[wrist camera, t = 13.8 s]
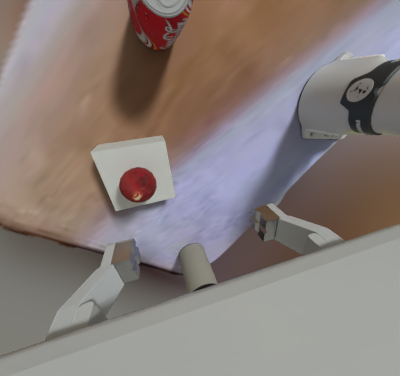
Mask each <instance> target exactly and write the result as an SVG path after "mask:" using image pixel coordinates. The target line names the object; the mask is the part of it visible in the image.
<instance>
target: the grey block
mask: <svg viewBox="0 0 400 376" xmlns="http://www.w3.org/2000/svg"><path fill="white" fill-rule="evenodd" d="M90 153H91V155H92V157H93V159H94V162H95V164H96V166H97V169H98V171H99V173H100V176H101V178H102V180H103V183H104V185H105V187H106V189H107V192H108V194H109V196H110V199H111V201H112V203H113V206H114V208H115V210H116V211H119V210H123V209H128V208H132V207H136V206H141V205H145V204H149V203H153V202H158V201H162V200H166V199H171V198H175V192H174V186H173V181H172V176H171V171H170V165H169V160H168V155H167V150H166V144H165V140H164V138H163V136H155V137H148V138H142V139H135V140H128V141H121V142H115V143H108V144H101V145H97V146H96V147H95V148H94V149H93V150H92V151H91V152H90ZM136 167H141V168H146V169H147V170H149V171H150V172H152V174H153V175H154V177H155V179H156V184H157V188H156V191H155V193H154V195H153V196H152V197H151V198H150V199H149V200H147V201H145V202H140V203H136V202H131V201H129V200H127V199H126V198H125V197H124V196H123V195H122V194H121V192H120V189H119V183H120V178H121V177H122V176H123V174H124V173H125V172H126V171H128V170H130V169H131V168H136Z"/></svg>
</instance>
